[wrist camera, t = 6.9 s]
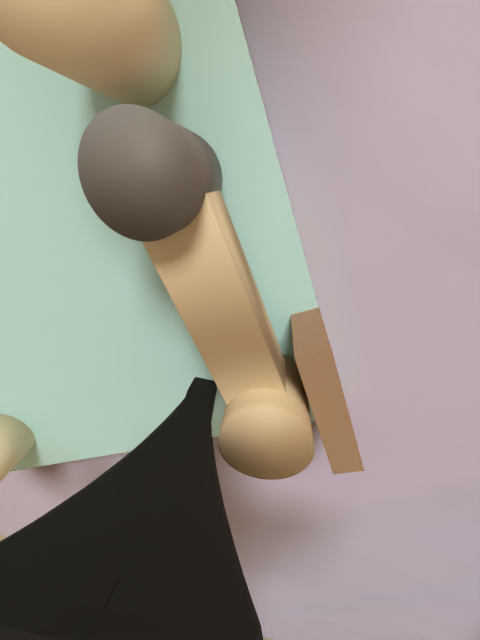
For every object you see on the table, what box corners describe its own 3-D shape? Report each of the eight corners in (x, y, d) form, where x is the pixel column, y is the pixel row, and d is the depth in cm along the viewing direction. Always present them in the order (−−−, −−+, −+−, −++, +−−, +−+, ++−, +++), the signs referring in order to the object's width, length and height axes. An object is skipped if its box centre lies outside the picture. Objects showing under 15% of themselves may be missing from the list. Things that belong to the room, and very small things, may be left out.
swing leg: (120, 156, 7) (40, 144, 5) (209, 108, 7) (168, 67, 4) (247, 414, 11) (238, 484, 8) (314, 401, 10) (325, 473, 8)
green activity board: (26, 452, 16) (-51, 535, 13) (-225, 185, 11) (-504, 189, 7) (341, 393, 12) (371, 496, 8) (197, -136, 6) (56, -671, 2)
